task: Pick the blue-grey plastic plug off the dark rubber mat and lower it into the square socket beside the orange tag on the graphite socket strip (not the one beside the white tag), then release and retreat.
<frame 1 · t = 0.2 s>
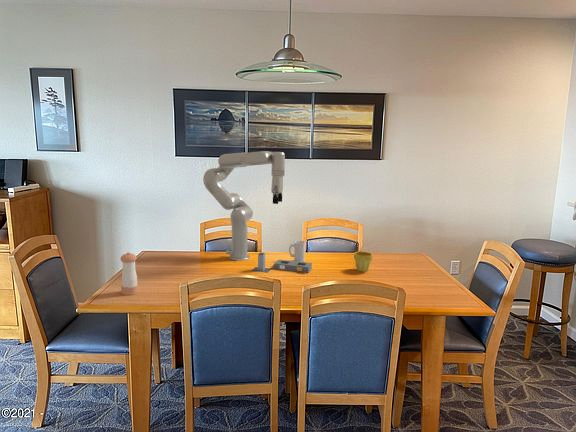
hand: (277, 202, 245), 36 cm above the table, tool pointing down, fingers open, 9 cm apart
plug: (261, 269, 234), resting on mat
socket strip: (292, 269, 238), on the table
mat: (261, 270, 234), on the table
mug: (296, 261, 254), on the table
plant pot: (362, 270, 240), on the table
salt shaker: (129, 292, 195), on the table
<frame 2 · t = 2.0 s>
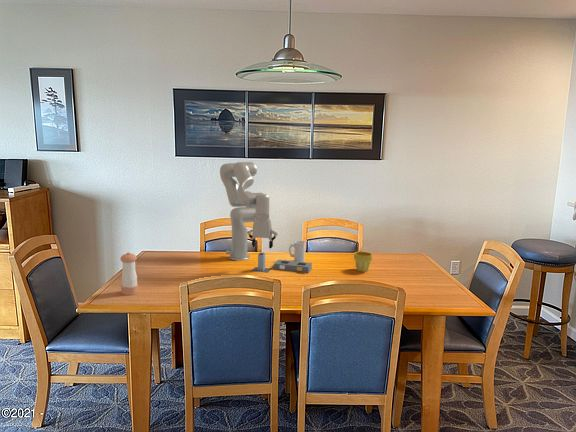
hand: (262, 247, 231), 13 cm above the table, tool pointing down, fingers open, 9 cm apart
nothing on the table moved.
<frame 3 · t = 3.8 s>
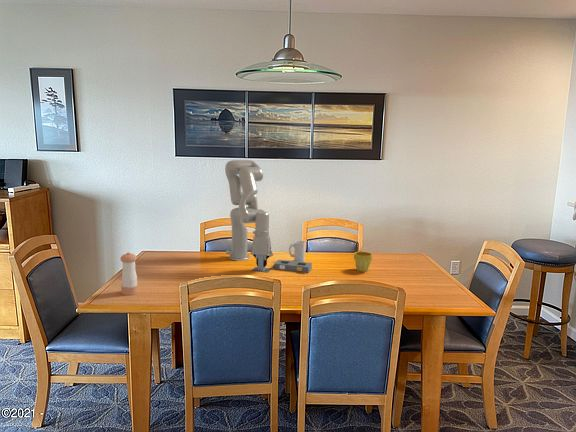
hand: (261, 265, 234), 3 cm above the table, tool pointing down, fingers closed on plug, 3 cm apart
plug: (261, 269, 234), resting on mat, touching gripper
everything else where it was.
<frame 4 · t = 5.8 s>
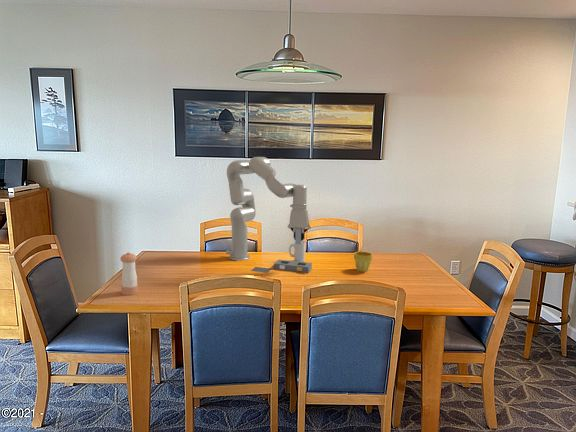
hand: (298, 239, 233), 18 cm above the table, tool pointing down, fingers closed on plug, 3 cm apart
plug: (298, 243, 233), point 16 cm above the table, touching gripper
everything else where it was.
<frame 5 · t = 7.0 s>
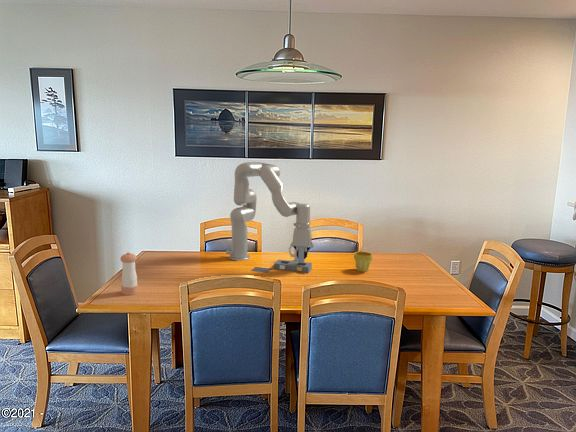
hand: (301, 257, 235), 7 cm above the table, tool pointing down, fingers closed on plug, 3 cm apart
plug: (301, 261, 236), point 5 cm above the table, touching gripper
everything else where it was.
when the fingers open (4 cm above the table, at t = 8.0 s): plug drops 1 cm, resting in socket strip.
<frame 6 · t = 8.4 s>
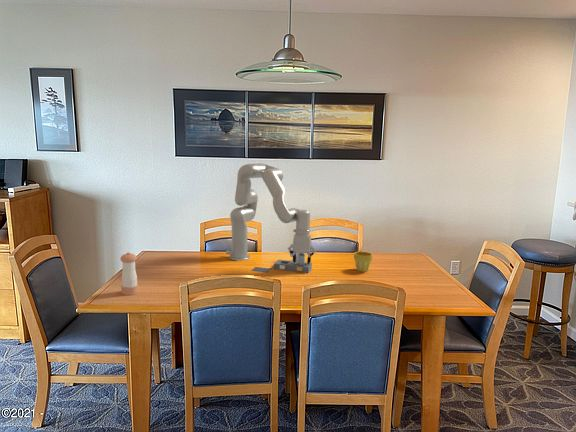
hand: (301, 262, 236), 4 cm above the table, tool pointing down, fingers open, 7 cm apart
plug: (301, 270, 236), resting in socket strip
everything else where it was.
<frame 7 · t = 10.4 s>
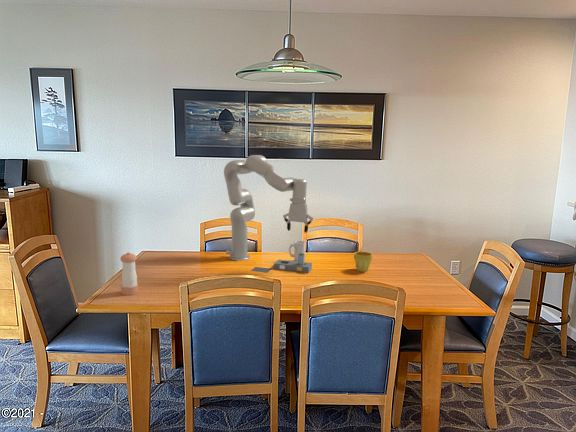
hand: (297, 231, 236), 22 cm above the table, tool pointing down, fingers open, 9 cm apart
nothing on the table moved.
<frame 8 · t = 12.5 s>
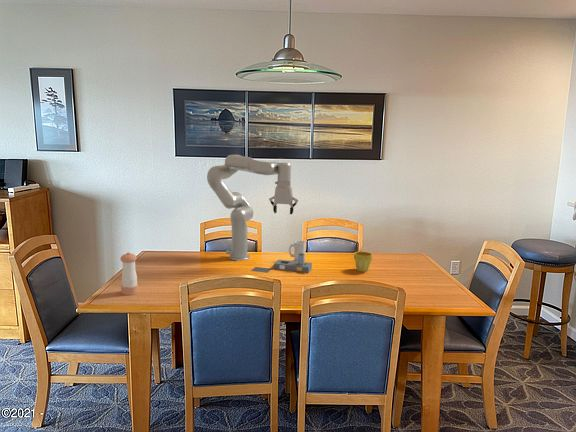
hand: (283, 213, 243), 30 cm above the table, tool pointing down, fingers open, 9 cm apart
nothing on the table moved.
at the end: plug 0.2 cm from the target spot on the socket strip, point 0.0 cm above the socket strip's base; plug tilted 0°; the gripper is holding nothing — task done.
